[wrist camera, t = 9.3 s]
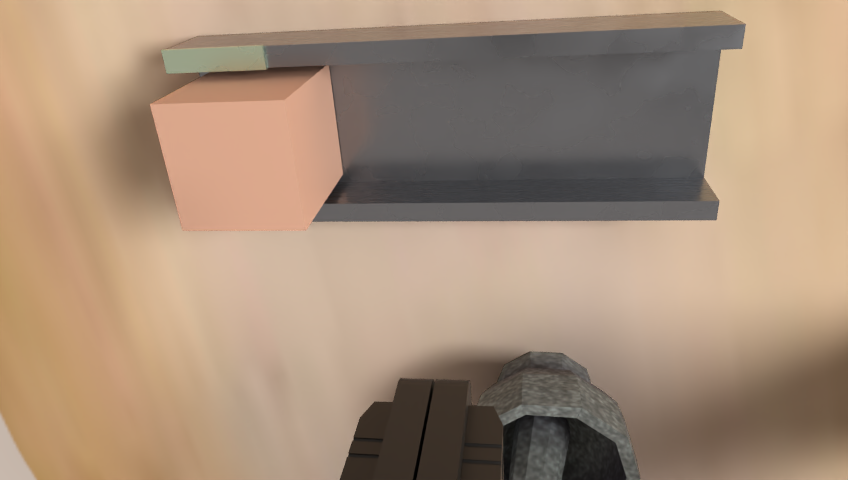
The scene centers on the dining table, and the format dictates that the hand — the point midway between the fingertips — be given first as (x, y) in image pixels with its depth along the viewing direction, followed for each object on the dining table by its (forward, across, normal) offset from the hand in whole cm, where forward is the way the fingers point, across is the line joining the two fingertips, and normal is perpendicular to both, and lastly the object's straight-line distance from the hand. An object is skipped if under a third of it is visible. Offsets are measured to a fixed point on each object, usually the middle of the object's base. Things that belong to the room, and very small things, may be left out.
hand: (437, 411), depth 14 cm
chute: (+23, +2, 0) cm, 23 cm away
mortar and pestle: (+23, -3, +19) cm, 30 cm away
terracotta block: (+22, +11, 0) cm, 24 cm away
